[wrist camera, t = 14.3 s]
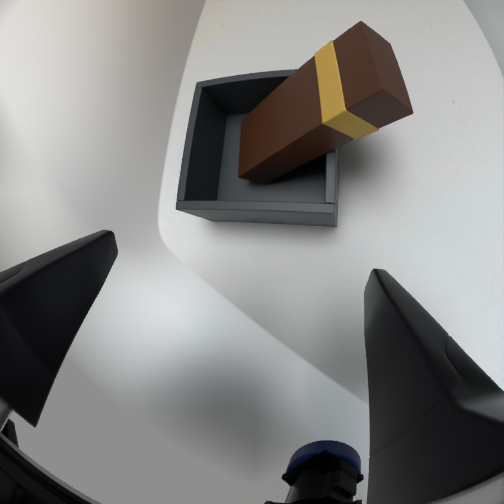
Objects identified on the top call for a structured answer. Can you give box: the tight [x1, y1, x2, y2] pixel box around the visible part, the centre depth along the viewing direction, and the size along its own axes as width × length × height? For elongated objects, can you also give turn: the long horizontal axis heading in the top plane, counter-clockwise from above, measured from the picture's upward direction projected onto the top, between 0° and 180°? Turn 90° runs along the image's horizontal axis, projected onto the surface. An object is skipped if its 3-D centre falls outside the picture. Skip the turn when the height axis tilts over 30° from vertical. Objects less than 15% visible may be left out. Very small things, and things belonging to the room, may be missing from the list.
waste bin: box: [176, 69, 339, 227], centre depth 19 cm, size 10×10×6 cm
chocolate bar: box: [238, 21, 413, 184], centre depth 15 cm, size 5×2×13 cm
